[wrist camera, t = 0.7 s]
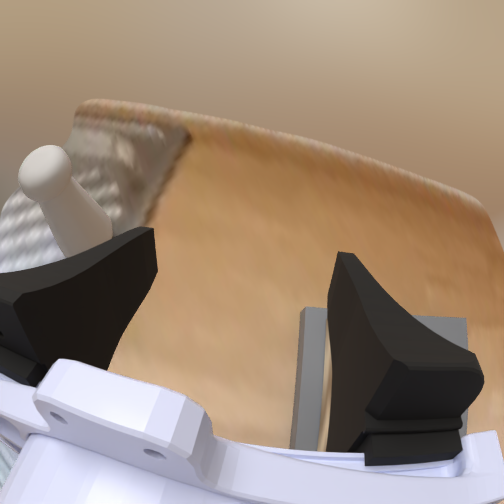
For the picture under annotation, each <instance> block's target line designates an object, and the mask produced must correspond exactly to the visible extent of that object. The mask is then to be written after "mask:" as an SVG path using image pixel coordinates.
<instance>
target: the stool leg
mask: <svg viewBox="0 0 504 504" xmlns="http://www.w3.org/2000/svg"><path fill="white" fill-rule="evenodd" d="M331 388H332V361H331V350H330V340H329V330H328V320H327V319H326V338H325V359H324V376H323V391H322V404H321V416H320V427H319V437H318V447H317V451H318V452H326V445H327V437H328V428H329V418H330V405H331Z"/></svg>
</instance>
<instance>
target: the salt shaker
mask: <svg viewBox="0 0 504 504" xmlns="http://www.w3.org/2000/svg"><path fill="white" fill-rule="evenodd" d="M18 182H19V184H20V186H21V188H22V190H23V192H24V194H25V195H26V196H27V197H28V198H30V199H32V200H34V201H36V202H39V205H40V207H41V209H42V212H43V214H44V216H45V218H46V220H47V223H48V225H49V227H50V229H51V231H52V233H53V236H54V238H55V240H56V242H57V244H58V246H59V248H60V249H61V251H62V252H63V254H64V256H66V257H67V258H69V257H71V256H74V255H77V254H79V253H81V252H84V251H86V250H88V249H90V248H93V247H95V246H97V245H99V244H101V243H104V242H106V241H108V240H110V239H112V236H113V230H112V223H111V219H110V218H109V216H108V215H107V214H106V212H105V211H104V210H103V209H102V208H101V207H100V206H99V205H98V204H97V203H96V202H95V201H94V199H93V198H92V197H91V196H90V195H89V194H88V193H87V192H86V191H85V190H84V189H83V188H82V187H81V186H80V185H79V183H78V182H77V181H76V180H75V179H74V178H73V177H72V164H71V162H70V159H69V157H68V156H67V154H66V153H65V152H64V150H63V149H62V148H61V147H58V146H54V145H47V146H42V147H40V148H38V149H36V150H35V151H33V152H32V153H31V154H29V155H28V156H27V157H26V158H25V160H24V162H23V164H22V165H21V167H20V170H19V176H18Z"/></svg>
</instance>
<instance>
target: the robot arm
mask: <svg viewBox="0 0 504 504" xmlns="http://www.w3.org/2000/svg"><path fill="white" fill-rule="evenodd" d="M157 272H158V267H157V258H156V249H155V239H154V228H148V227H137V228H134V229H132V230H129V231H127V232H125V233H123V234H120V235H118V236H116V237H114V238H112V239H110V240H108V241H106V242H104V243H101V244H99V245H97V246H95V247H93V248H90V249H88V250H86V251H84V252H81V253H79V254H77V255H74V256H71V257H69V258H66V259H63V260H60V261H57V262H54V263H50V264H46V265H43V266H39V267H35V268H31V269H26V270H21V271H15V272H8V273H0V441H1V442H2V443H4V444H5V445H6V446H8V447H9V448H11V449H12V450H13V451H15V452H16V453H18V454H19V456H18V457H17V459H16V461H15V463H14V465H13V467H12V469H11V471H10V473H9V475H8V477H7V479H6V481H5V483H4V485H3V487H2V489H1V491H0V504H497V503H499V502H501V501H502V500H504V461H503V456H502V452H501V448H500V444H499V441H498V437H497V433H496V431H495V430H490V431H484V432H478V433H472V434H468V435H466V436H463V437H462V438H460V434H459V429H461V428H462V426H463V422H462V418H461V415H462V414H463V413H464V412H465V411H466V409H467V408H468V407H469V406H470V405H471V404H472V403H473V401H474V400H475V399H476V398H477V396H478V395H479V393H480V392H481V390H482V388H483V385H484V375H483V372H482V370H481V367H480V365H479V362H478V360H477V357H476V355H475V354H474V353H472V352H470V351H468V350H466V349H464V348H462V347H460V346H458V345H456V344H454V343H452V342H450V341H448V340H447V339H445V338H443V337H442V336H440V335H438V334H437V333H435V332H434V331H432V330H431V329H429V328H428V327H426V326H425V325H424V324H422V323H421V322H419V321H418V320H417V319H415V318H414V317H413V316H412V315H410V314H409V313H408V312H407V311H406V310H405V309H404V308H402V307H401V306H400V305H399V304H398V303H397V302H396V301H395V300H394V299H393V298H392V297H391V296H390V295H389V294H388V293H387V292H386V291H385V290H384V289H383V288H382V287H381V286H380V284H379V283H378V282H377V281H376V280H375V279H374V278H373V276H372V275H371V274H370V273H369V271H368V270H367V269H366V268H365V267H364V265H363V264H362V263H361V262H360V260H359V259H358V258H357V257H356V256H355V255H354V254H353V253H346V252H338V254H337V258H336V262H335V267H334V271H333V275H332V280H331V284H330V288H329V292H328V303H327V320H328V330H329V340H330V350H331V361H332V388H331V405H330V418H329V428H328V437H327V445H326V452H318V451H304V450H293V449H283V448H274V447H266V446H259V445H252V444H245V443H239V442H234V441H231V440H228V439H225V438H222V437H219V436H216V435H213V431H212V422H211V420H210V418H209V417H208V415H207V413H206V411H205V410H204V409H203V407H202V406H200V405H199V404H198V403H196V402H195V401H193V400H192V399H190V398H189V397H188V396H186V395H184V394H181V393H179V392H176V391H173V390H171V389H168V388H166V387H163V386H159V385H155V384H151V383H147V382H143V381H140V380H136V379H133V378H129V377H126V376H122V375H119V374H116V373H112V372H109V371H107V370H108V367H109V364H110V362H111V359H112V357H113V354H114V352H115V350H116V347H117V345H118V343H119V340H120V338H121V336H122V334H123V332H124V331H125V329H126V327H127V326H128V324H129V322H130V321H131V319H132V317H133V316H134V314H135V313H136V311H137V309H138V308H139V306H140V305H141V303H142V301H143V300H144V298H145V297H146V295H147V293H148V292H149V290H150V288H151V286H152V283H153V281H154V279H155V277H156V274H157Z"/></svg>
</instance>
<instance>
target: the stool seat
mask: <svg viewBox="0 0 504 504" xmlns="http://www.w3.org/2000/svg"><path fill="white" fill-rule="evenodd" d="M412 316H413V317H414V318H415V319H417V320H418V321H419V322H421V323H422V324H424V325H425V326H426V327H428V328H429V329H431V330H432V331H434V332H435V333H437V334H438V335H440V336H442V337H443V338H445V339H447V340H448V341H450V342H452V343H454V344H456V345H458V346H460V347H462V348H464V349H466V350H468V338H467V323H466V318H455V317H434V316H416V315H412ZM326 319H327V309H326V308H316V307H305V308H304V309H303V310H302V311H301V312H300V329H299V344H298V359H297V372H296V385H295V397H294V408H293V419H292V429H291V439H290V448H289V449H293V450H304V451H317V447H318V437H319V427H320V416H321V404H322V391H323V376H324V359H325V338H326ZM461 418H462V422H463V426H462V428H461V429H459V434H460V438H462V437H463V436H466V432H467V418H468V408H467V409H466V411H465V412H464V413H463V414H462V415H461Z"/></svg>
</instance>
